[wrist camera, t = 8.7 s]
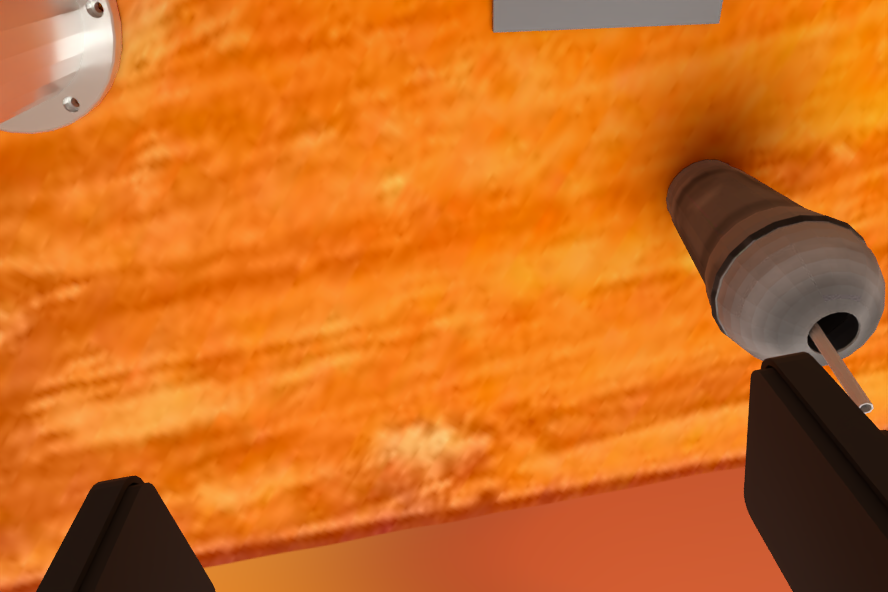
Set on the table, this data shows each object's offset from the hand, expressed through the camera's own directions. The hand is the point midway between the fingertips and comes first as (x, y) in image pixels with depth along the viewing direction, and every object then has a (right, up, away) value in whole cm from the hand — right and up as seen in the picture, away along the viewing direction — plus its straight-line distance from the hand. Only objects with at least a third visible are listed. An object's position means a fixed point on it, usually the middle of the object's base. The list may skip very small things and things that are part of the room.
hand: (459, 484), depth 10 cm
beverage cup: (+16, +9, +31) cm, 36 cm away
